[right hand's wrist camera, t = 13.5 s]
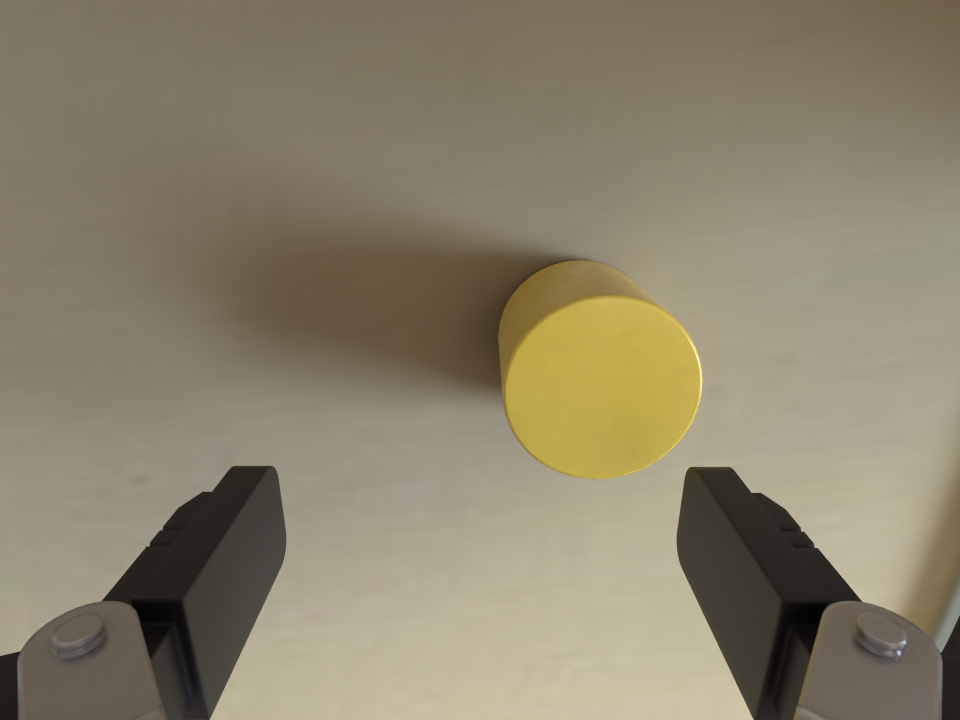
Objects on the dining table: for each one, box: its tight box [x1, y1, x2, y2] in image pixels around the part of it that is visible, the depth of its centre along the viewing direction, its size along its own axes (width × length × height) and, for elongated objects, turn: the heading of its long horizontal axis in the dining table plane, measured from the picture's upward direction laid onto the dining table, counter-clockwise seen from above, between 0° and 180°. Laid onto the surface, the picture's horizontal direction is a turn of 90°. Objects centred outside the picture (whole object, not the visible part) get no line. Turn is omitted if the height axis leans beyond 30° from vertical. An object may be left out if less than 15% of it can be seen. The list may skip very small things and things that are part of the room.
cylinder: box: [498, 260, 703, 479], centre depth 15 cm, size 4×4×4 cm
